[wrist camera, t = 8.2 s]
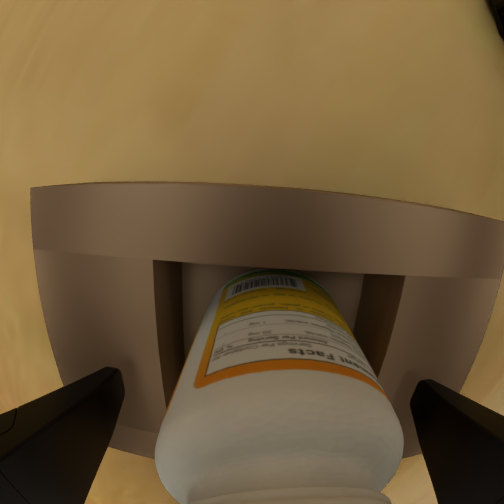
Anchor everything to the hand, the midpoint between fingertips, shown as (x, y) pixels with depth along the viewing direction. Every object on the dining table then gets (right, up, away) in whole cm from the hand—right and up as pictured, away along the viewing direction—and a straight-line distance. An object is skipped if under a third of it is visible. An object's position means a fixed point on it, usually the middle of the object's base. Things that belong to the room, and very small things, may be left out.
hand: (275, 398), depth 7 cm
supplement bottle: (0, +1, +4) cm, 4 cm away
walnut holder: (0, +1, +5) cm, 5 cm away
